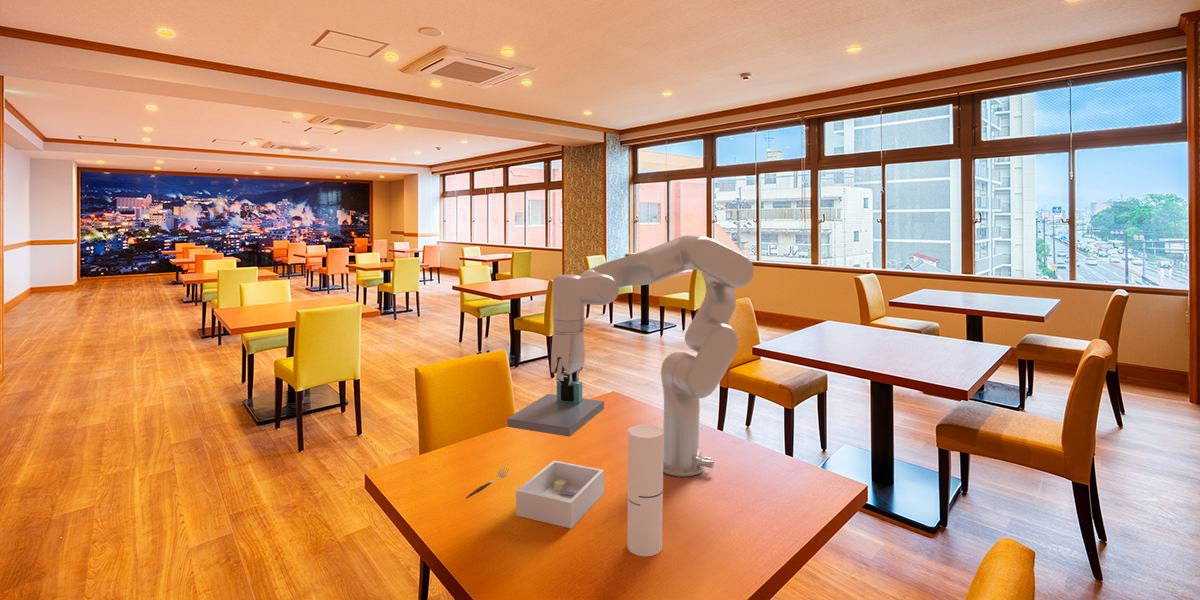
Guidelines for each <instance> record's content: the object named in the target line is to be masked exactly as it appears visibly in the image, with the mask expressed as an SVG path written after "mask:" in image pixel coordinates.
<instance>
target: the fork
mask: <svg viewBox="0 0 1200 600" xmlns="http://www.w3.org/2000/svg"><path fill="white" fill-rule="evenodd" d="M509 470H510V468H508V467H504V466H502V467H501V468H500V470H499V471H498V472H497V474H496V476H495V477H498V478H501V479H505V477H506V475H507V474H508V472H509ZM494 482H496V480H493V479H492V480H491V481H489V482H487V483H485V484H483V485H481V486H479V487H478V488H476V489H475V490H474V491H472V492H471V493H470V494H469V495H467V496H466V497H465V499H468V498H470V497H472V496H473V495H475V494H477V493H479V492H481V491H483V490H484V489H486V488H487V487H488V486H489V485H491V484H492V483H494Z"/></svg>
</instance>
